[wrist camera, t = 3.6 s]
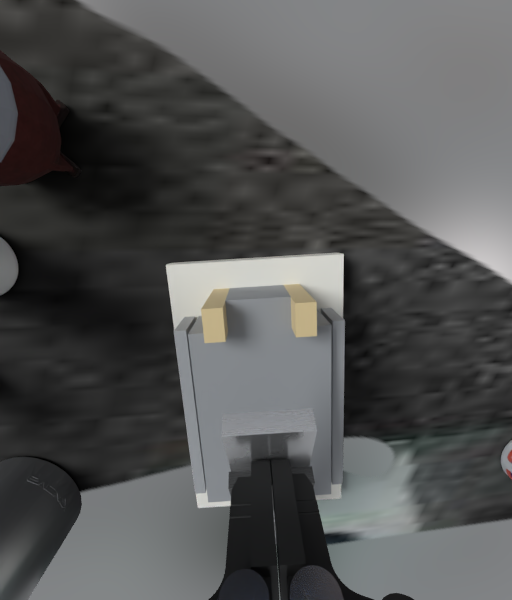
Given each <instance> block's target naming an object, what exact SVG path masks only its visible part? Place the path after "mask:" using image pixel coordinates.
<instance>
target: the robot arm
mask: <svg viewBox="0 0 512 600" xmlns="http://www.w3.org/2000/svg"><path fill="white" fill-rule="evenodd" d="M271 471H272V487H271V474H270V461H269V460H256V461H251V477H238V478H237V480H236V482H235V484H234V486H233V488H232V492H231V507H230V520H229V532H228V545H227V558H226V569H225V574H224V578H223V581H222V583H221V585H220V587H219V589H218V590H217V591H216V593H215V594H214V595H213V596H212V597H211V598H210V599H209V600H279V588H278V572H277V571H278V570H279V583H280V596H281V600H373V599H371V598H368V597H365V596H362V595H359V594H357V593H355V592H353V591H352V590H350V589H349V588H347V587H346V586H345V585H344V584H343V583H342V582H341V581H340V579H339V578H338V577H337V575H336V573H335V572H334V570H333V567H332V564H331V561H330V557H329V553H328V548H327V544H326V539H325V535H324V531H323V527H322V522H321V518H320V514H319V509H318V505H317V502H316V497H315V492H314V488H313V485H312V483H311V482H310V480H309V479H308V478H307V476H306V475H305V473H300V474H292V472H291V465H290V460H289V459H272V460H271ZM272 489H273V501H272ZM81 505H82V503H81V495H80V492H79V489H78V487H77V485H76V484H75V482H74V481H73V479H72V478H71V477H70V476H69V475H68V474H67V473H66V472H65V471H63V470H62V469H60V468H59V467H58V466H56V465H54V464H52V463H50V462H47V461H44V460H41V459H37V458H30V457H15V458H10V459H6V460H3V461H1V462H0V600H28V599H29V597H30V595H31V594H32V592H33V591H34V589H35V587H36V586H37V584H38V582H39V581H40V579H41V577H42V576H43V574H44V572H45V571H46V569H47V567H48V566H49V564H50V563H51V561H52V559H53V558H54V556H55V554H56V553H57V551H58V549H59V548H60V546H61V545H62V543H63V541H64V539H65V538H66V536H67V534H68V533H69V531H70V530H71V528H72V526H73V525H74V523H75V521H76V520H77V518H78V516H79V513H80V510H81ZM273 505H274V514H273ZM274 518H275V527H274ZM275 531H276V541H275ZM276 544H277V554H276ZM277 557H278V568H279V569H277ZM382 600H414V599H412V598H411V597H408V596H406V595H403V594H399V593H393V594H389V595H387V596H385V597H384V598H383V599H382Z"/></svg>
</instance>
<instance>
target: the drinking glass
mask: <svg viewBox="0 0 512 600" xmlns="http://www.w3.org/2000/svg"><path fill="white" fill-rule="evenodd" d="M17 276H18V261H17V258H16V255H15V253H14V251H13V250H12V248H11V247H10V245H9V244H8V243H7V242H6V241H5V240H4V239H3V238H1V237H0V296H1V295H3V294H4V293H6V292H7V291H9V290H10V289H11V288H12V287H13V285H14V284H15V282H16V280H17Z"/></svg>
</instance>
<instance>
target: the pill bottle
mask: <svg viewBox="0 0 512 600" xmlns="http://www.w3.org/2000/svg"><path fill="white" fill-rule="evenodd" d="M501 465H502V468H503V470H504V472H505V473H506V474H507V475H508V476H509V477H510V478H511V479H512V440H511V441H510V442H509V443H508V444H507V445H506V446H505V448H504V450H503V452H502V455H501Z"/></svg>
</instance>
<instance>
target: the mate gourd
mask: <svg viewBox="0 0 512 600" xmlns="http://www.w3.org/2000/svg"><path fill="white" fill-rule="evenodd" d="M69 112H70V111H69V109H68V108H67V107H66V106H65V105H64V104H63V103H62V102H61V101H60V100H56V101H54V100H53V98H52V97H51V95H50V94H49V93H48V91H47V90H46V89H45V88H44V86H43V85H42V84H41V83H40V82H39V81H38V80H37V79H35V78H34V77H33V76H32V75H31V74H30V73H28V72H27V71H26V70H25V69H23V68H22V67H21V66H19V65H18V64H17V63H15V62H14V61H13V60H11V59H10V58H9V57H8V56H6V55H5V54H4V53H3V52H2V51H0V186H8V185H20V184H25V183H28V182H31V181H33V180H35V179H37V178H39V177H41V176H43V175H45V174H47V173H49V172H50V171H52V170H54V171H65V172H66V173H68V174H69V175H71V176H72V177H75V178H76V177H78V176H79V174H80V173H81V168H79V167H78V166H77V165H76V164H75V163H74V162H73V161H71V160H70V159H69V158H68V157H67V156H65V155H64V154H63V153H62V152H61V151H60V148H61V135H60V130H59V128H60V127H61V125H62V123H63V122H64V120H65V119H66V117H67V115H68V113H69Z"/></svg>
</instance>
